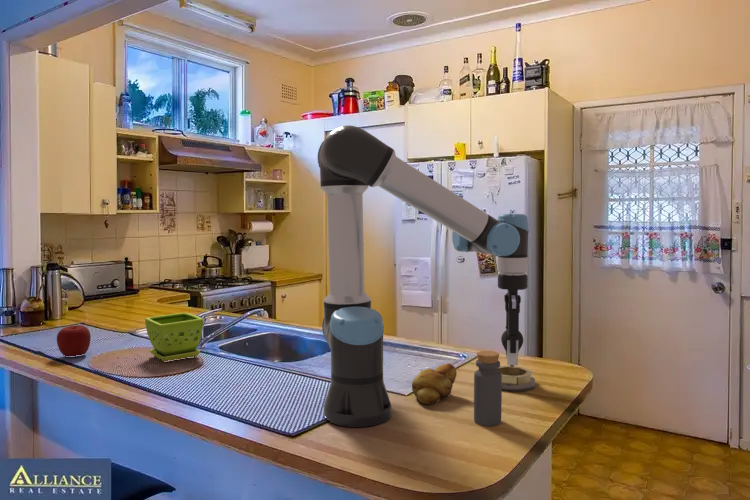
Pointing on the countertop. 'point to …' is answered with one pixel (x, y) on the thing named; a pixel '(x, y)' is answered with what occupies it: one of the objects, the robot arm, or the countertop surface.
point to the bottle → (487, 389)
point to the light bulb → (504, 342)
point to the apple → (73, 340)
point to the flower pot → (174, 335)
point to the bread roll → (434, 383)
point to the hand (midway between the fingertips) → (511, 361)
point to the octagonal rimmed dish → (516, 379)
